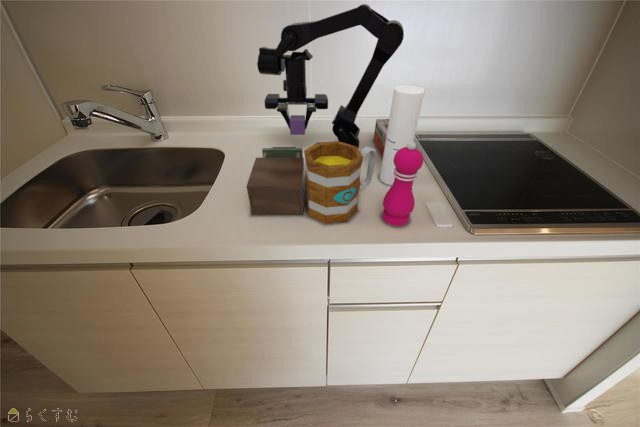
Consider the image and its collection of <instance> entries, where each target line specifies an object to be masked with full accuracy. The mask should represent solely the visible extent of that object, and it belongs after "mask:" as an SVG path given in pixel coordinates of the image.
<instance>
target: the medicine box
mask: <svg viewBox="0 0 640 427" xmlns="http://www.w3.org/2000/svg"><path fill="white" fill-rule="evenodd" d="M388 124H389V118H376V119H375V125H374V131H373V132H374V133H373V142H374V143H375V145H376V147H377V149H378V151H379V152H380V154H381V156H382V157H383V155H384V149H385V142H386V136H387V130H388Z"/></svg>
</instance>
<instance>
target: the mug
mask: <svg viewBox="0 0 640 427" xmlns="http://www.w3.org/2000/svg"><path fill="white" fill-rule="evenodd" d="M303 153H304V161H305V171H304V184H305V194H306V197H305V207H306V213H307V216H308V217H310V218H312V219H315V220H317V221H318V222H321V223H323V224H326V225H327V224H329V225H330V224H336V223H346V222H348V221H349V220H350V219H351V218H352V217H353V216H354V215H355V214H356V213H357V212H358V198H359V197H358V196H359V192H360V191H364V190H366V189H367V188H368V187H369V186H370V185H371V183H372V180H373V177H374V170H375V165H376V161H377V150H376V149H375V148H374V147H370V146H368V145H366V146H364V147H363V148H362V149H358V147H356V146H353V145H349V144H346V143H343V142H340V141H338V140H337V141H336V140H335V141H320V142H315V143H314V144H312V145H311V146H309V147H308V148H306V149H304V150H303ZM368 154H369V159H368V164H367V168H366V169H367V170H366V175H365V176H366V177H365V179H364V180H363V182H362V183H361V171H362V165H363V160H364V159H365V157H366V156H367V155H368Z"/></svg>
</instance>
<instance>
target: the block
mask: <svg viewBox="0 0 640 427" xmlns="http://www.w3.org/2000/svg"><path fill="white" fill-rule="evenodd" d="M289 116H290V129H289V132H290V133H289V134H290V136H305V135H306V129H305V118H306V114H290V115H289Z"/></svg>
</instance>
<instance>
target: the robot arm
mask: <svg viewBox="0 0 640 427" xmlns="http://www.w3.org/2000/svg"><path fill="white" fill-rule="evenodd" d="M359 26H361V27H363V28H364V29H365V30H366V31H368V33H369V34H371V35H372V36H373V37H375V38H376V39H377V41H376V43H375V48H374V50H373V53H372V57H371V59H370V60H369V63H368V64H367V66H366V68H365V70H364V72H363V74H362V76H361V78H360V80H359V82H358V84H357V86H356V88H355V90H354V92H353V93H352V95H351V98H350V99H349V101H348V103H347V104H346V105H345V106H343V105H342V104H340V105H339V108H338V109H337V112H336V114H335V116H334V117H333V119H332V122H331V125H332V129H331V130H332V133H333V135H334V136H335V137H336V139H337V141H340V142H343V143H346V144H349V145H353V146H356V147H358V149H359V148H360V139H359V136H360V131H361V129H360V127H359V126H358V125H357V124H356V119H357V117H358V114H359V111H360V109H361V107H362V105H363V103H364V102H365V101H366V99H367V96H368V95H369V93H370V92H371V89H372V87H373V86H374V84H375V83H376V80H377V78H378V76H379V74H380V73H381V72H382V69H383V67H384V66H385V65H386V63H387V62H388V61H389V60H390V59H391V58H392V57H393V55H394V54H395V53H396V52H397V50H398V49H399V48H400V47H401V45H402V43H403V41H404V38H405V31H404V26H403V25H402V23H401V22H400V21H399V20H395V19H393V20H389V19H388V18H386V17H385V16H384V15H382V14H381V13H379V12H377V11H376V10H374V9H373V8H371V6H370V5H369V4H366V3H362V4H360V5H358V6H357V7H354V8H351V9H347V10H345V11H343V12H338V13H336V14H334V15H331V16H327V17H325V18H321V19H319V20H314V21H300V22H294V23H291V24H289V25H286V26H285V27H283V28H282V30H281V33H280V41H279V43H278V45H277V46H276V48H271V47H266V46H261V47H259V48H258V52H259V54H258V55H257V62H256V65H257V71H258V72H259V74H260V75H268V76H270V75H271V76H282V73H284V72H285V79H283V80H282V81H283V82H282V84H283V85H282V87H283V88H282V89H283V92H286V97H280V93H267V95H266V96H265V98H264V109H265V110H276V112H278V113H280V115H281V116H282V117H283V119H284V121H285V123H286V125H287V127H288V130H290V116H291V115H290V112H289V110H290V109H289V105H296V106H297V105H302V106H306V110H305V130H307V128H308V124H309V122H310V119H311V117H312V115H313V113H316V112H317V110H328V109H329V97H328V95H327V94H326V93H315V94H314V97H307V95H308V94H307V93H308V92H307V90H308V89H307V72H306V71H307V69H306V68H307V67H306V61H311V60H312V59H313V57H314V55H313V54H311V52H309V50H308V48H305V49H304V50H303V51H297V50H299V49H302V48H303V47H305V46H306V45H308V44H310V43H312V42H313V41H315V40H317V39H319V38H323V37H326V36H329V35H332V34H336V33H339V32H342V31H345V30H349V29H351V28H355V27H359ZM288 52H291V54H287V53H288ZM359 150H360V149H359Z"/></svg>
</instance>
